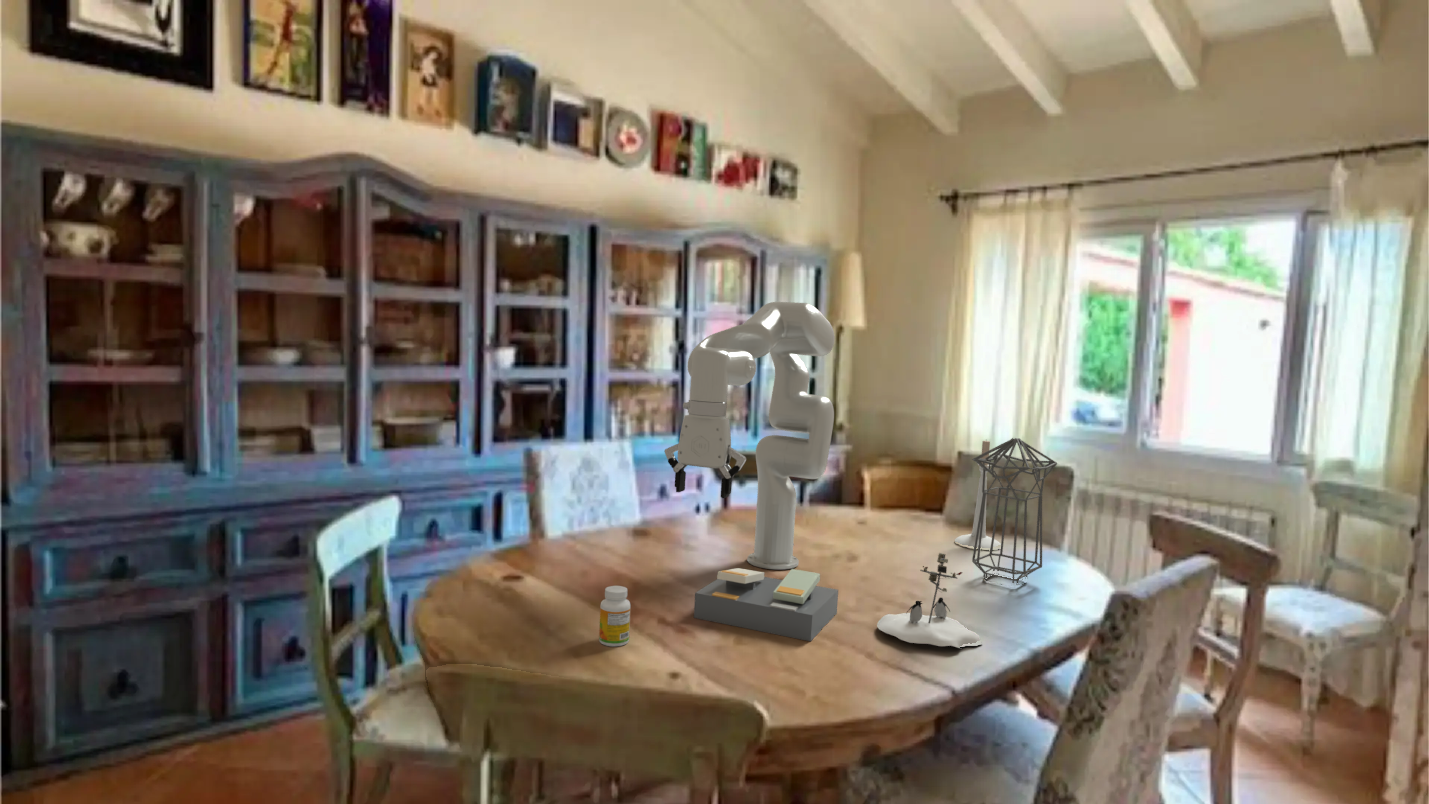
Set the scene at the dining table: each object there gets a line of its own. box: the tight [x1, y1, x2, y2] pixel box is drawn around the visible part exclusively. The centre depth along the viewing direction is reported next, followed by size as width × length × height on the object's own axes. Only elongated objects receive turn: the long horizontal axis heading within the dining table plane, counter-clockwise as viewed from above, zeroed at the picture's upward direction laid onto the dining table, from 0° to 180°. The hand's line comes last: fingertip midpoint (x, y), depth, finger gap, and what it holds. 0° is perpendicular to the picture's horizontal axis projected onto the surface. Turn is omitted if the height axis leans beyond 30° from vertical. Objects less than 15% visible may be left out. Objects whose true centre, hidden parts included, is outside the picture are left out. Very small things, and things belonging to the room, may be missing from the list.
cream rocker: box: [716, 567, 765, 584], centre depth 173 cm, size 11×6×2 cm, turn 157°
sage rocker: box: [773, 568, 821, 604], centre depth 168 cm, size 11×6×2 cm, turn 156°
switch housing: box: [693, 576, 839, 642], centre depth 170 cm, size 18×24×6 cm
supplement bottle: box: [598, 585, 631, 648], centre depth 152 cm, size 5×5×10 cm
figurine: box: [876, 552, 981, 649], centre depth 164 cm, size 20×18×16 cm
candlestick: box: [954, 439, 1001, 548], centre depth 238 cm, size 13×13×30 cm
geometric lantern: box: [971, 437, 1058, 584], centre depth 201 cm, size 16×16×35 cm
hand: (702, 494), depth 172 cm, fingers open, 9 cm apart
